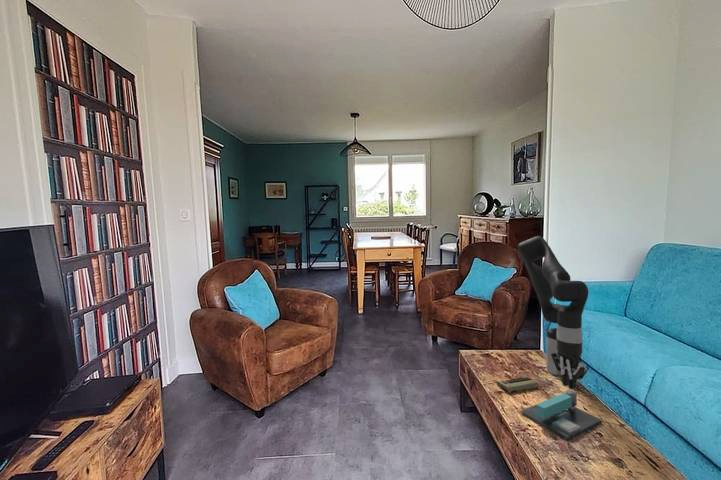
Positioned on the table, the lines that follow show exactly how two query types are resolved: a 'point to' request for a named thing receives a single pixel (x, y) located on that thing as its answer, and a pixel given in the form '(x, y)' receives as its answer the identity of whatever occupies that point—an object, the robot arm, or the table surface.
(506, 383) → the computer
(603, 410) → the table surface
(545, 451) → the table surface
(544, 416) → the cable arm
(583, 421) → the board
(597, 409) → the table surface
